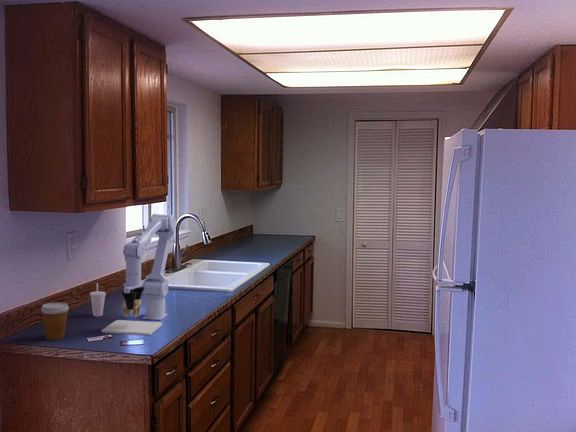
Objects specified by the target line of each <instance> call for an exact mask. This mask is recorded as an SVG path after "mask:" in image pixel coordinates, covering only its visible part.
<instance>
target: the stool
mask: <svg viewBox="0 0 576 432" xmlns="http://www.w3.org/2000/svg"><path fill="white" fill-rule="evenodd" d="M141 306H142V299H140V300H136V299H135V301H134V308H133V310H130V309H127V306H126V301H125V300H124V301H123V302H122V308H123V317H124V318H126V317H127V318H128V316H129V315H132V317H133V318H137V317H138V316H140V315H141Z"/></svg>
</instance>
